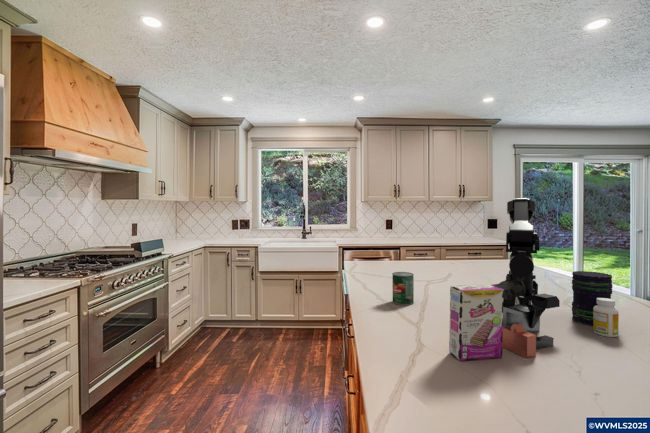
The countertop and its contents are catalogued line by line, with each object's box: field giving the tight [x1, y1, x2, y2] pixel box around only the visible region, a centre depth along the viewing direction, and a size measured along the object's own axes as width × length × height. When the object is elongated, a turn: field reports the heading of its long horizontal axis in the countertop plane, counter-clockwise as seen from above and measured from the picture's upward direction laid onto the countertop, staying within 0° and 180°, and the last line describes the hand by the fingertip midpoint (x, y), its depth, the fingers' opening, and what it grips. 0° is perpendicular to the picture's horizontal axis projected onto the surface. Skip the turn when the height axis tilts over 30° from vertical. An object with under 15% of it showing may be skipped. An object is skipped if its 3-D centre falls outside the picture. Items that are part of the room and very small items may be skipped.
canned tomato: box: [391, 271, 415, 306], centre depth 126 cm, size 8×8×11 cm
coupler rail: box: [502, 323, 554, 359], centre depth 83 cm, size 13×7×7 cm, turn 112°
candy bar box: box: [448, 284, 504, 362], centre depth 78 cm, size 11×5×16 cm, turn 100°
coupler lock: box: [503, 304, 541, 333], centre depth 97 cm, size 7×6×6 cm
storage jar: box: [571, 270, 613, 327], centre depth 103 cm, size 10×10×15 cm
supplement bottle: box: [592, 298, 620, 338], centre depth 93 cm, size 5×5×10 cm
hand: (520, 324), depth 97 cm, fingers closed on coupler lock, 6 cm apart
